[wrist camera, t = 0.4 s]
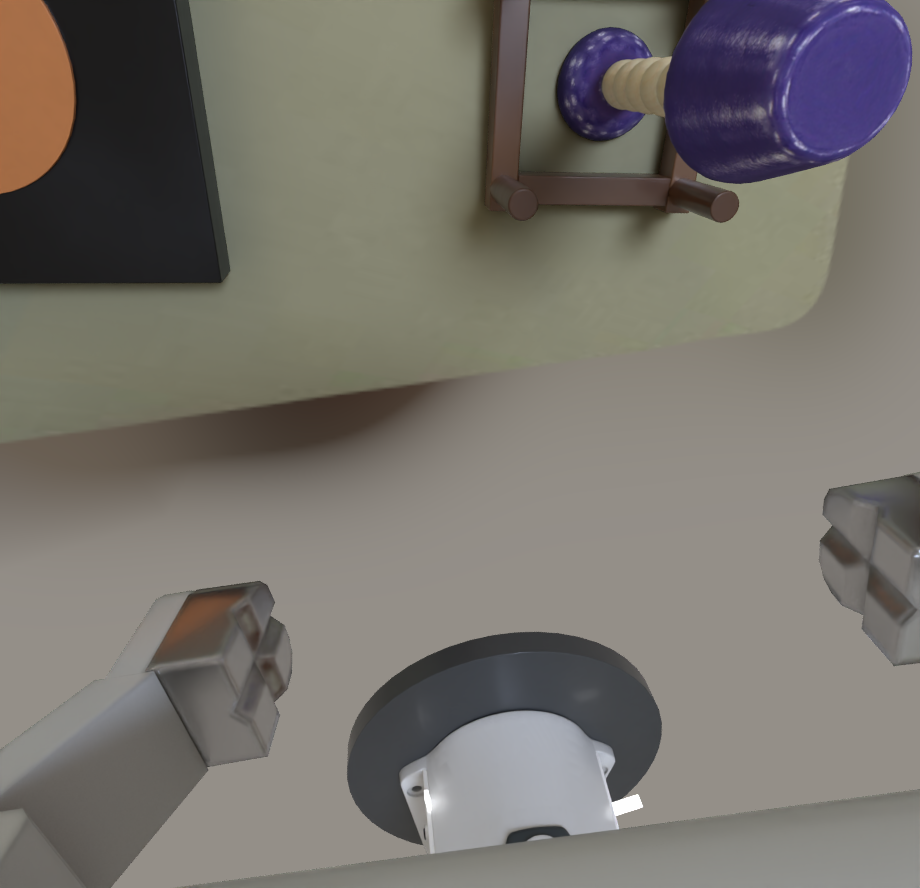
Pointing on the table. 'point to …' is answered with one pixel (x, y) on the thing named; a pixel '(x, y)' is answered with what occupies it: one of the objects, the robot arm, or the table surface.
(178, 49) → the stove
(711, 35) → the toy lamp
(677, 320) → the table surface
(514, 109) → the rack
